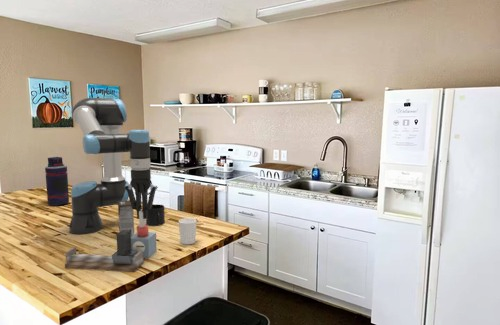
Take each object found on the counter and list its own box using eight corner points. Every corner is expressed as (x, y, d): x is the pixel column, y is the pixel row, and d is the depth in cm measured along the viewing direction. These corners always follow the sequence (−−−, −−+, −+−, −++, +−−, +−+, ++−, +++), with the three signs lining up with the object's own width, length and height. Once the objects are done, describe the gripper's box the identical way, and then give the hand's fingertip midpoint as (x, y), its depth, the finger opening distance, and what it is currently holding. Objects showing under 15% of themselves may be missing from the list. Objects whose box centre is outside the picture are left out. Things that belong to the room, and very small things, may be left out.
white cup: (180, 239, 158) (179, 218, 157) (197, 238, 159) (197, 217, 158) (178, 245, 151) (177, 223, 149) (196, 245, 151) (195, 223, 150)
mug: (150, 228, 173) (149, 211, 171) (144, 222, 183) (143, 205, 182) (168, 225, 177) (168, 208, 176) (161, 219, 188) (161, 203, 186)
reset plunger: (135, 236, 138) (134, 228, 137) (139, 232, 142) (139, 224, 141) (145, 237, 137) (145, 228, 137) (150, 233, 141) (149, 225, 141)
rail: (63, 267, 128) (62, 253, 127) (76, 259, 135) (76, 245, 135) (135, 272, 124) (135, 257, 124) (144, 263, 132) (144, 249, 132)
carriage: (111, 264, 126) (110, 234, 125) (119, 257, 132) (118, 229, 131) (130, 265, 125) (128, 235, 124) (137, 258, 131) (136, 229, 130)
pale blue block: (129, 258, 136) (128, 239, 135) (138, 250, 145) (137, 231, 144) (148, 259, 136) (147, 240, 135) (156, 251, 144) (156, 232, 143)
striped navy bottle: (73, 203, 219) (70, 157, 215) (54, 207, 209) (50, 159, 205) (61, 200, 227) (58, 155, 223) (42, 204, 217) (38, 157, 213)
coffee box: (119, 233, 165) (117, 200, 163) (133, 231, 168) (131, 199, 165) (119, 239, 157) (118, 205, 155) (134, 237, 159) (133, 204, 157)
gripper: (120, 169, 133) (122, 228, 136) (152, 170, 131) (154, 229, 135) (129, 167, 140) (131, 222, 143) (159, 167, 139) (161, 224, 142)
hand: (142, 226), depth 139 cm, fingers closed
